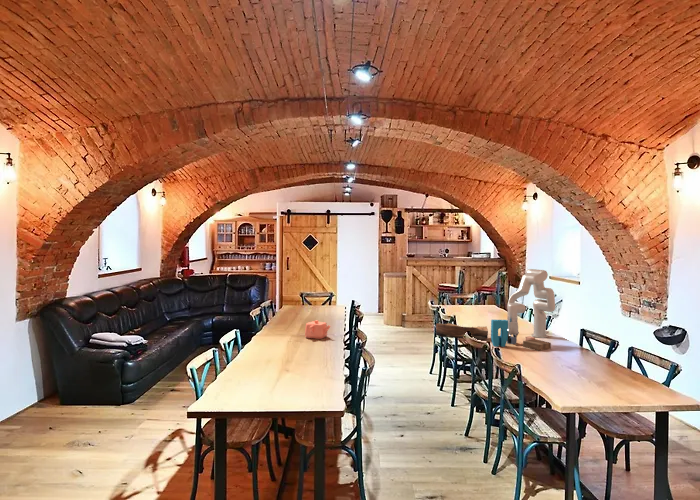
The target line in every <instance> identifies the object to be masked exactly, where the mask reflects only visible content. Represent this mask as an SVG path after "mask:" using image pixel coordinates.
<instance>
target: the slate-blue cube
mask: <svg viewBox="0 0 700 500" xmlns="http://www.w3.org/2000/svg"><path fill="white" fill-rule="evenodd" d="M517 338H518V336H517V337H513V335H511V343H508V344H510V345H516V344H517V341H518V340H517Z"/></svg>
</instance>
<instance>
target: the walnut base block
mask: <svg viewBox="0 0 700 500" xmlns="http://www.w3.org/2000/svg"><path fill="white" fill-rule="evenodd" d="M525 340H526V339H525ZM525 340H523V342H522V347H523V348H525V349H526V348H527V349H528V350H534V351H537V352H541V351H546V350H552V349H551V348H552V343H551V342H548V341H546V340H540V339H536V338H535V339H533V340H526V341H525Z"/></svg>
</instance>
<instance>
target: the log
mask: <svg viewBox="0 0 700 500" xmlns="http://www.w3.org/2000/svg"><path fill="white" fill-rule="evenodd" d="M435 330H436V331H435V336H439V337H441V338H450V339H464V338H463V335H464V334H465V333H466V332H467V331H470V332H471V335H472V337H474V338H476V339H477V340H482V339H488V336H489V329H488V327H487V326H472V327H471V326H460V325H457V324H454V323H449V322H446V323H436V327H435ZM476 339H475V340H476ZM464 340H465V339H464Z"/></svg>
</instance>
